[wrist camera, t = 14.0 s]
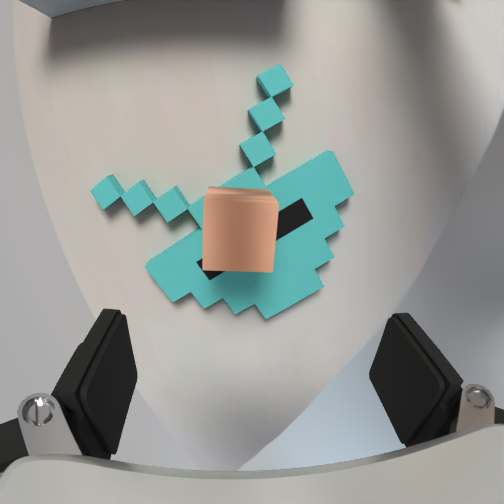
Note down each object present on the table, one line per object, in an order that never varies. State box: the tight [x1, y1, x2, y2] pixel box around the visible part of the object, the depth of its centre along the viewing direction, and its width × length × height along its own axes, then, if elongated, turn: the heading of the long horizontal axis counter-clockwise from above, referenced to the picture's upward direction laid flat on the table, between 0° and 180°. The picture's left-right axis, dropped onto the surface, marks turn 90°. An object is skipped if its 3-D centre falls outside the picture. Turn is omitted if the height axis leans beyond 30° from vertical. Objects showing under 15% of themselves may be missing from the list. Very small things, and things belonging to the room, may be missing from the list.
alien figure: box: [90, 64, 354, 319], centre depth 28 cm, size 20×2×20 cm
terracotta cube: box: [203, 187, 279, 272], centre depth 24 cm, size 5×5×6 cm
